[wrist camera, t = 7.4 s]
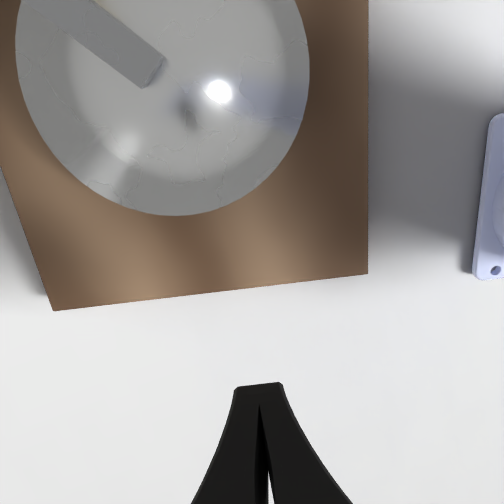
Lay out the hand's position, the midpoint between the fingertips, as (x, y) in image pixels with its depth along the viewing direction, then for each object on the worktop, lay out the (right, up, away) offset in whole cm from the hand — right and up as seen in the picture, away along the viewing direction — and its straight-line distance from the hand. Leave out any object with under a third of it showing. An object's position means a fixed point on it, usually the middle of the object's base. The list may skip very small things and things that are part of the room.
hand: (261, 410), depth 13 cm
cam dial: (-5, +13, +3) cm, 14 cm away
